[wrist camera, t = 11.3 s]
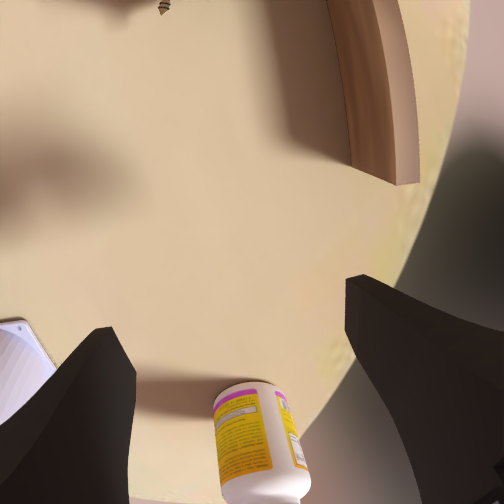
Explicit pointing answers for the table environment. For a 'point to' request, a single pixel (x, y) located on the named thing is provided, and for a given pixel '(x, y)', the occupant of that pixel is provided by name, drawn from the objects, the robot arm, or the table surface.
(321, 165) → the table surface
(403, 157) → the l-shaped bracket
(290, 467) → the supplement bottle
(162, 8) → the game die
